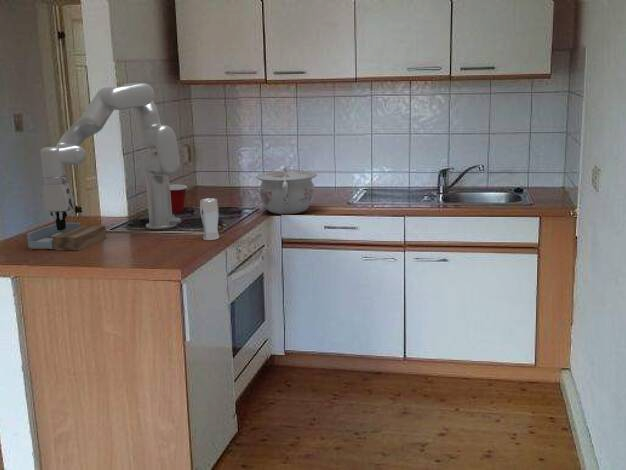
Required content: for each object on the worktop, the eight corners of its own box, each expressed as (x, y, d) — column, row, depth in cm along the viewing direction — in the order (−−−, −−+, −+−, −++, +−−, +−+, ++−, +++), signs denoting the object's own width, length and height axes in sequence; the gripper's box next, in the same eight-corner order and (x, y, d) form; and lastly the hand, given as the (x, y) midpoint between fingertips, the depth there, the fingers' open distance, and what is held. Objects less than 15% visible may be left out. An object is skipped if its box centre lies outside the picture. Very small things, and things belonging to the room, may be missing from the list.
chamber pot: (285, 204, 332) (283, 161, 328) (330, 209, 315) (329, 164, 310) (243, 214, 311) (241, 168, 307) (289, 220, 294) (288, 172, 289)
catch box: (82, 237, 274) (81, 223, 273) (52, 250, 255) (50, 234, 254) (60, 237, 276) (58, 222, 275) (28, 249, 258) (26, 233, 256)
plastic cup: (171, 214, 317) (169, 188, 314) (161, 211, 325) (159, 186, 322) (193, 211, 323) (191, 185, 320) (182, 208, 331) (180, 183, 329)
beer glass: (211, 235, 270) (209, 197, 267) (224, 237, 266) (221, 199, 263) (198, 239, 265) (195, 200, 262) (210, 241, 261) (208, 201, 258)
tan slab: (106, 238, 271) (105, 226, 270) (77, 250, 253) (76, 237, 251) (83, 237, 274) (82, 225, 273) (53, 250, 255) (52, 236, 254)
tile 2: (44, 238, 264) (45, 243, 264) (36, 241, 259) (37, 246, 259) (56, 238, 263) (56, 243, 263) (48, 241, 258) (49, 246, 258)
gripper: (79, 179, 257) (85, 227, 261) (43, 179, 260) (50, 227, 264) (67, 182, 249) (73, 232, 254) (31, 182, 253) (38, 231, 257)
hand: (61, 229), depth 259 cm, fingers closed
